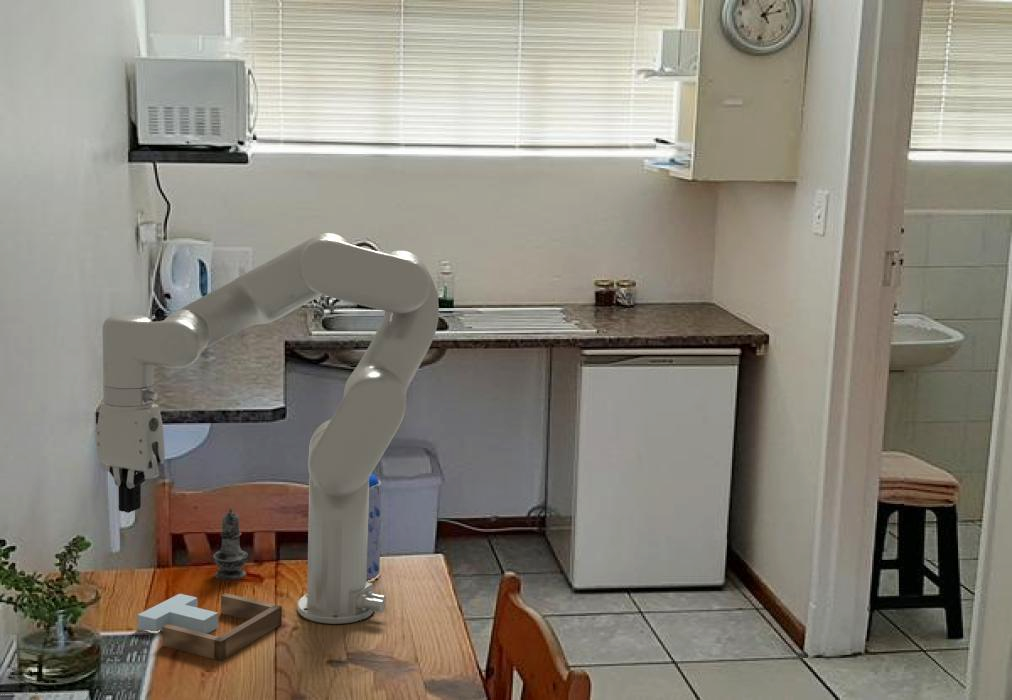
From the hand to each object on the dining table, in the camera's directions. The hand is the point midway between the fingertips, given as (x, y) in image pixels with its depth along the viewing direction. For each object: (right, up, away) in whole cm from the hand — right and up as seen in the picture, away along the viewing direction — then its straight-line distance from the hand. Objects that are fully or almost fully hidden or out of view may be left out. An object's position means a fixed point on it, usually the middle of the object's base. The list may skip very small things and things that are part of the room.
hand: (129, 509), depth 193 cm
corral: (+16, -19, -4) cm, 25 cm away
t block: (+9, -18, -1) cm, 20 cm away
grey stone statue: (+11, -14, +21) cm, 27 cm away
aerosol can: (+33, -15, +23) cm, 43 cm away
